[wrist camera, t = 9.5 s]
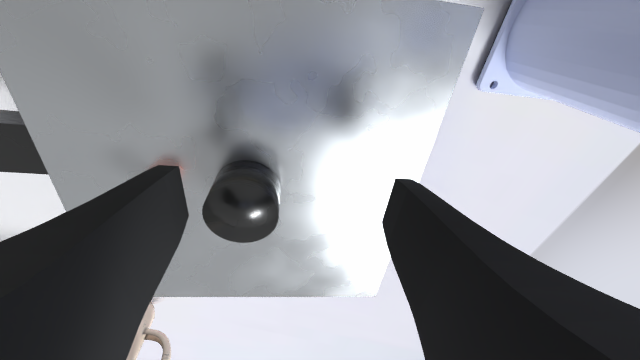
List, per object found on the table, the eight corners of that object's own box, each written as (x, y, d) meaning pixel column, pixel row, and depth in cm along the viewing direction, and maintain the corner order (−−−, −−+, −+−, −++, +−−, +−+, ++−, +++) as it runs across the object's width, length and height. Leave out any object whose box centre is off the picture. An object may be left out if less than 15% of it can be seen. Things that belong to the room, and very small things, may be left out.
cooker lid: (468, 8, 10) (526, 7, 8) (371, 283, 19) (383, 326, 16) (-35, -76, 8) (-190, -117, 5) (116, 282, 16) (83, 331, 14)
